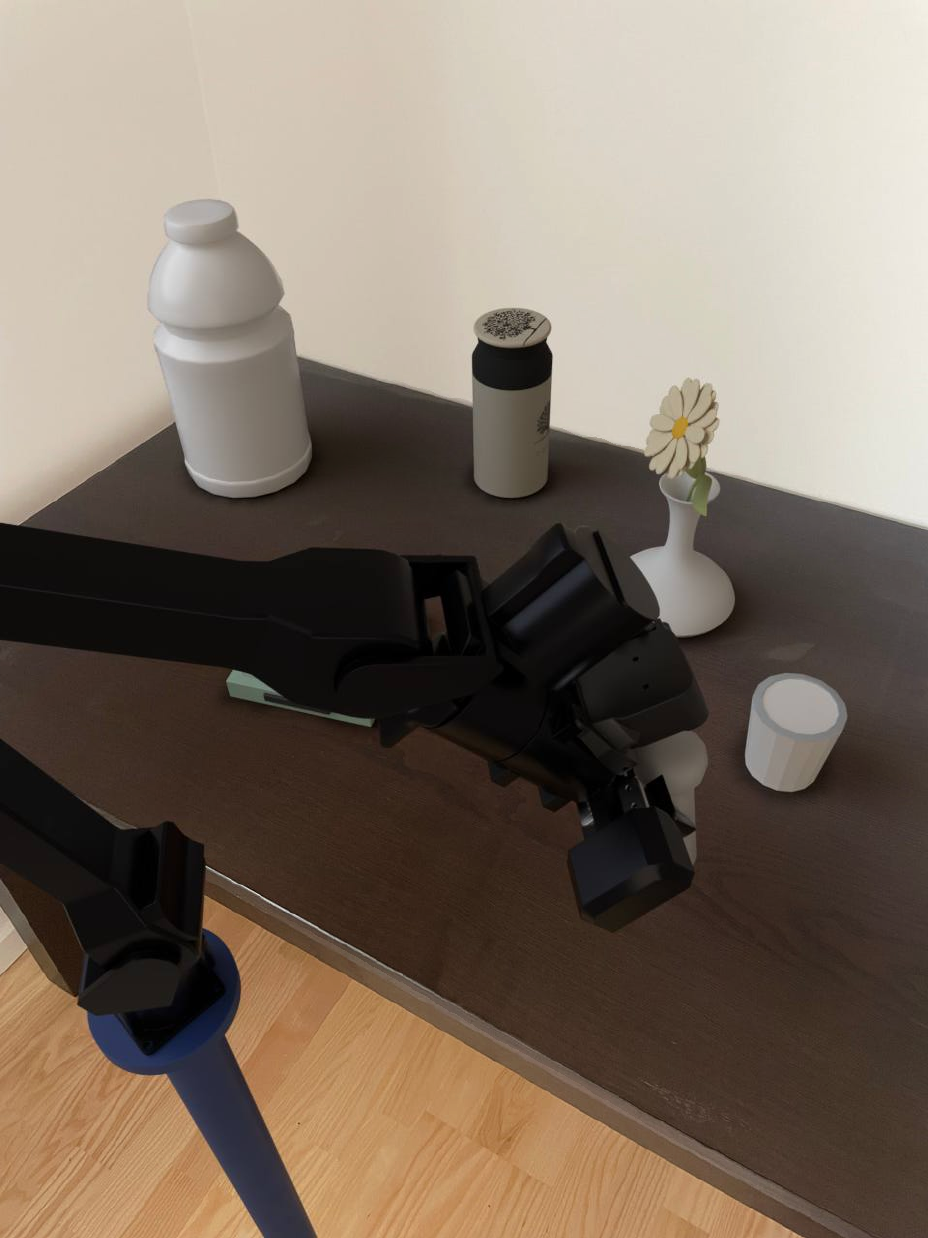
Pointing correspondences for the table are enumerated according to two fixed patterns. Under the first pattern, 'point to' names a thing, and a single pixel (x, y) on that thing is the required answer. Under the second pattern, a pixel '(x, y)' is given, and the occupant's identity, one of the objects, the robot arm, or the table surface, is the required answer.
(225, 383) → the bottle
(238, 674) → the scale
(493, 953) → the table surface
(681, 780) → the salt shaker
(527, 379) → the travel mug
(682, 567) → the flower in vase
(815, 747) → the shot glass
